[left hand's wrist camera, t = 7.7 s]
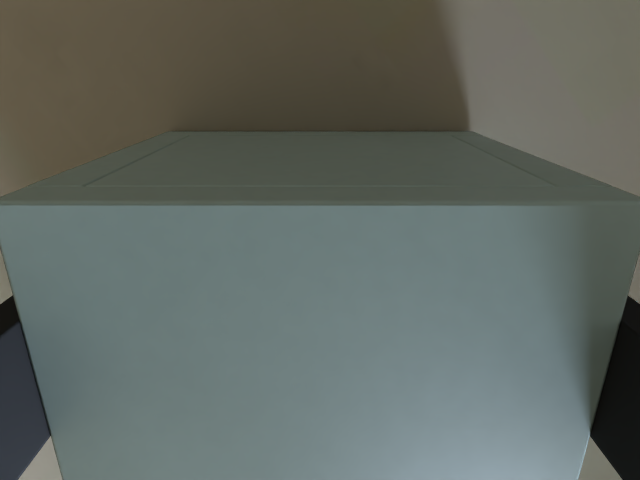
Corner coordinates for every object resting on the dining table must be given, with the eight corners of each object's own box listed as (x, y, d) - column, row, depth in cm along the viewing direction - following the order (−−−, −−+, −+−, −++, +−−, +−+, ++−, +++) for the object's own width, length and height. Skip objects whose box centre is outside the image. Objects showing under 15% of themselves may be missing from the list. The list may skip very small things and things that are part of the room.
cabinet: (427, 519, 23) (494, 794, 14) (212, 518, 23) (145, 793, 14) (473, 131, 16) (656, 201, 7) (167, 131, 16) (-15, 201, 7)
